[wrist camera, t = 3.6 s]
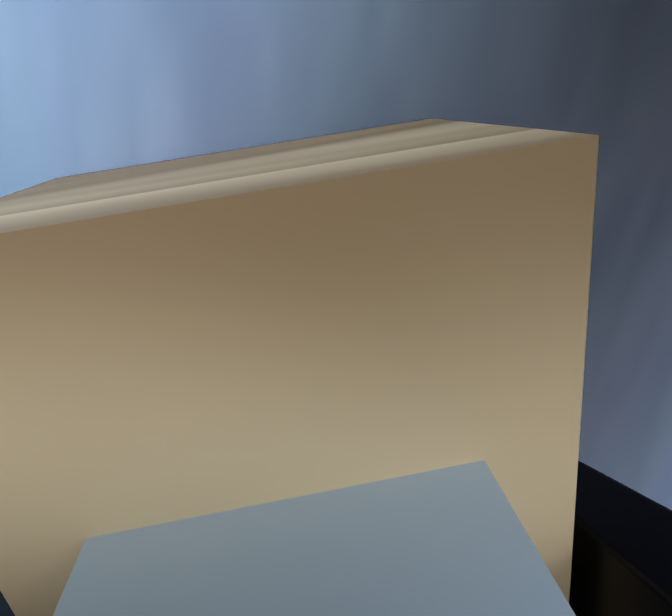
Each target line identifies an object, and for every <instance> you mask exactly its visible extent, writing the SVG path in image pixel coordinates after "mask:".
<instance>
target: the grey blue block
mask: <svg viewBox="0 0 672 616" xmlns="http://www.w3.org/2000/svg"><path fill="white" fill-rule="evenodd" d="M53 616H576V615H575V613H574V612H573V610H572V608H571V607H570V605H569V603H568V601H567V600H566V598H565V596H564V595H563V593H562V591H561V590H560V588H559V586H558V584H557V583H556V581H555V579H554V578H553V576H552V574H551V573H550V571H549V569H548V567H547V566H546V564H545V562H544V561H543V559H542V557H541V556H540V554H539V552H538V550H537V549H536V547H535V545H534V544H533V542H532V540H531V539H530V537H529V535H528V533H527V532H526V530H525V528H524V527H523V525H522V523H521V522H520V520H519V518H518V516H517V515H516V513H515V511H514V510H513V508H512V506H511V505H510V503H509V501H508V499H507V498H506V496H505V494H504V493H503V491H502V489H501V488H500V486H499V484H498V482H497V481H496V479H495V477H494V476H493V474H492V472H491V471H490V469H489V467H488V465H487V464H486V462H485V460H482V461H477V462H472V463H467V464H462V465H457V466H452V467H447V468H442V469H437V470H431V471H426V472H421V473H416V474H411V475H406V476H401V477H396V478H391V479H386V480H381V481H376V482H370V483H365V484H360V485H355V486H350V487H345V488H340V489H335V490H330V491H325V492H320V493H315V494H309V495H304V496H299V497H294V498H289V499H284V500H279V501H274V502H269V503H264V504H259V505H254V506H248V507H243V508H238V509H233V510H228V511H223V512H218V513H213V514H208V515H203V516H198V517H193V518H187V519H182V520H177V521H172V522H167V523H162V524H157V525H152V526H147V527H142V528H137V529H132V530H126V531H121V532H116V533H111V534H106V535H101V536H96V537H91V538H86V540H85V542H84V544H83V546H82V549H81V551H80V553H79V556H78V558H77V560H76V563H75V565H74V567H73V570H72V572H71V574H70V577H69V579H68V581H67V584H66V586H65V588H64V590H63V593H62V595H61V597H60V600H59V602H58V604H57V607H56V609H55V611H54V614H53Z"/></svg>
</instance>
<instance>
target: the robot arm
mask: <svg viewBox="0 0 672 616" xmlns="http://www.w3.org/2000/svg"><path fill="white" fill-rule="evenodd" d="M569 605H570V607H571V608H572V610H573V612H574V613H575V615H576V616H672V510H670V509H668V508H666V507H664V506H662V505H660V504H659V503H657V502H655V501H653V500H651V499H649V498H647V497H646V496H644V495H642V494H640V493H638V492H636V491H634V490H633V489H631V488H629V487H627V486H625V485H623V484H621V483H619V482H618V481H616V480H614V479H612V478H610V477H608V476H606V475H605V474H603V473H601V472H599V471H597V470H595V469H593V468H592V467H590V466H588V465H586V464H584V463H582V462H580V461H578V471H577V487H576V502H575V518H574V533H573V549H572V564H571V580H570V596H569ZM0 616H15V614H14V613H13V611H12V609H11V608H10V606H9V604H8V603H7V601H6V599H5V598H4V596H3V594H2V593H1V591H0Z"/></svg>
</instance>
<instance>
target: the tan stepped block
mask: <svg viewBox="0 0 672 616" xmlns="http://www.w3.org/2000/svg"><path fill="white" fill-rule="evenodd" d="M598 145H599V135H594V134H584V133H574V132H564V131H554V130H544V129H534V128H524V127H514V126H504V125H494V124H483V123H473V122H463V121H453V120H443V119H433V118H431V119H425V120H419V121H412V122H406V123H400V124H394V125H387V126H381V127H375V128H369V129H362V130H356V131H350V132H343V133H337V134H331V135H325V136H318V137H312V138H306V139H300V140H293V141H287V142H281V143H274V144H268V145H262V146H256V147H249V148H243V149H237V150H231V151H224V152H218V153H212V154H205V155H199V156H193V157H187V158H180V159H174V160H168V161H162V162H155V163H149V164H143V165H136V166H130V167H124V168H118V169H111V170H105V171H99V172H92V173H86V174H80V175H74V176H67V177H61V178H56V179H53V180H50V181H47V182H44V183H41V184H39V185H36V186H33V187H30V188H27V189H24V190H21V191H18V192H15V193H13V194H10V195H7V196H4V197H1V198H0V591H1V593H2V594H3V596H4V598H5V599H6V601H7V603H8V604H9V606H10V608H11V609H12V611H13V613H14V614H15V616H53V614H54V611H55V609H56V607H57V604H58V602H59V600H60V597H61V595H62V593H63V590H64V588H65V586H66V584H67V581H68V579H69V577H70V574H71V572H72V570H73V567H74V565H75V563H76V560H77V558H78V556H79V553H80V551H81V549H82V546H83V544H84V542H85V540H86V538H91V537H96V536H101V535H106V534H111V533H116V532H121V531H126V530H132V529H137V528H142V527H147V526H152V525H157V524H162V523H167V522H172V521H177V520H182V519H187V518H193V517H198V516H203V515H208V514H213V513H218V512H223V511H228V510H233V509H238V508H243V507H248V506H254V505H259V504H264V503H269V502H274V501H279V500H284V499H289V498H294V497H299V496H304V495H309V494H315V493H320V492H325V491H330V490H335V489H340V488H345V487H350V486H355V485H360V484H365V483H370V482H376V481H381V480H386V479H391V478H396V477H401V476H406V475H411V474H416V473H421V472H426V471H431V470H437V469H442V468H447V467H452V466H457V465H462V464H467V463H472V462H477V461H482V460H485V462H486V464H487V465H488V467H489V469H490V471H491V472H492V474H493V476H494V477H495V479H496V481H497V482H498V484H499V486H500V488H501V489H502V491H503V493H504V494H505V496H506V498H507V499H508V501H509V503H510V505H511V506H512V508H513V510H514V511H515V513H516V515H517V516H518V518H519V520H520V522H521V523H522V525H523V527H524V528H525V530H526V532H527V533H528V535H529V537H530V539H531V540H532V542H533V544H534V545H535V547H536V549H537V550H538V552H539V554H540V556H541V557H542V559H543V561H544V562H545V564H546V566H547V567H548V569H549V571H550V573H551V574H552V576H553V578H554V579H555V581H556V583H557V584H558V586H559V588H560V590H561V591H562V593H563V595H564V596H565V598H566V600H567V601H568V603H569V596H570V580H571V564H572V549H573V533H574V518H575V502H576V487H577V471H578V456H579V440H580V425H581V409H582V393H583V378H584V362H585V347H586V331H587V316H588V300H589V285H590V269H591V254H592V238H593V222H594V207H595V191H596V176H597V160H598Z"/></svg>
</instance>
